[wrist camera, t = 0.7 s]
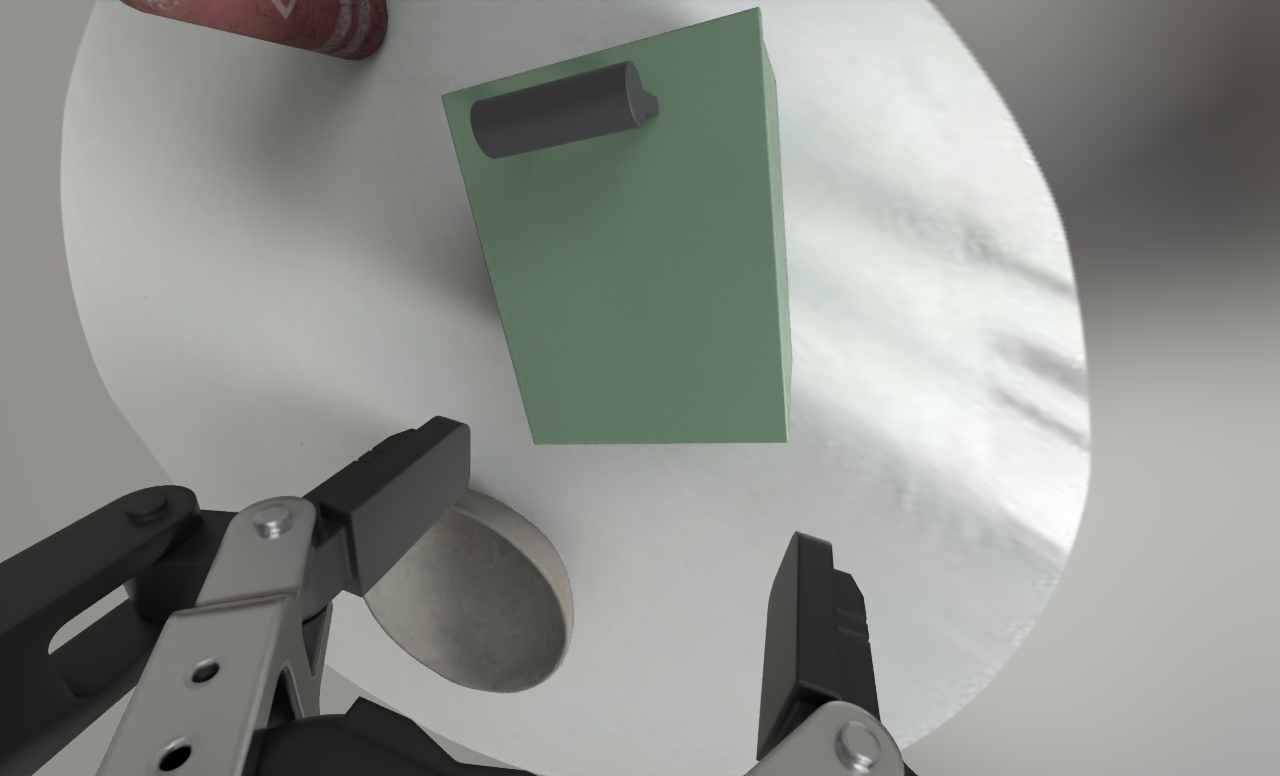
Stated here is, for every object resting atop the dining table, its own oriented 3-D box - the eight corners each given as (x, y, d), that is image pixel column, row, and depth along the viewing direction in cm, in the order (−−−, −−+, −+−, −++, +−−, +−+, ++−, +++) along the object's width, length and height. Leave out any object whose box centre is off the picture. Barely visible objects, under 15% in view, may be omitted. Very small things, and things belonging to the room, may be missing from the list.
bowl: (378, 521, 54) (315, 574, 47) (474, 409, 45) (413, 455, 38) (521, 651, 56) (481, 721, 49) (644, 571, 46) (616, 643, 39)
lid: (450, 96, 23) (361, 80, 19) (761, 11, 19) (747, -40, 14) (540, 438, 30) (490, 490, 25) (788, 435, 25) (785, 498, 20)
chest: (556, 130, 33) (456, 116, 24) (775, 79, 29) (763, 36, 19) (604, 370, 39) (540, 438, 30) (792, 360, 35) (788, 435, 25)
